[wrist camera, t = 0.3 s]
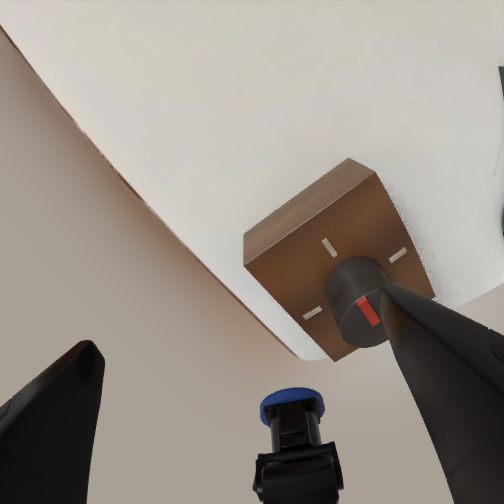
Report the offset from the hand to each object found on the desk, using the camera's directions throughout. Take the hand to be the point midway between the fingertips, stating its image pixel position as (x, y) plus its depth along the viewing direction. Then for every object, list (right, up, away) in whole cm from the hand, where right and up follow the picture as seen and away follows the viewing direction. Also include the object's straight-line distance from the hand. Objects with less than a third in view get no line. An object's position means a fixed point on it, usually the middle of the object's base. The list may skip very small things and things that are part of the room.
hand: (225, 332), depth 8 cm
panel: (+8, +2, +16) cm, 18 cm away
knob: (+8, 0, +11) cm, 14 cm away
